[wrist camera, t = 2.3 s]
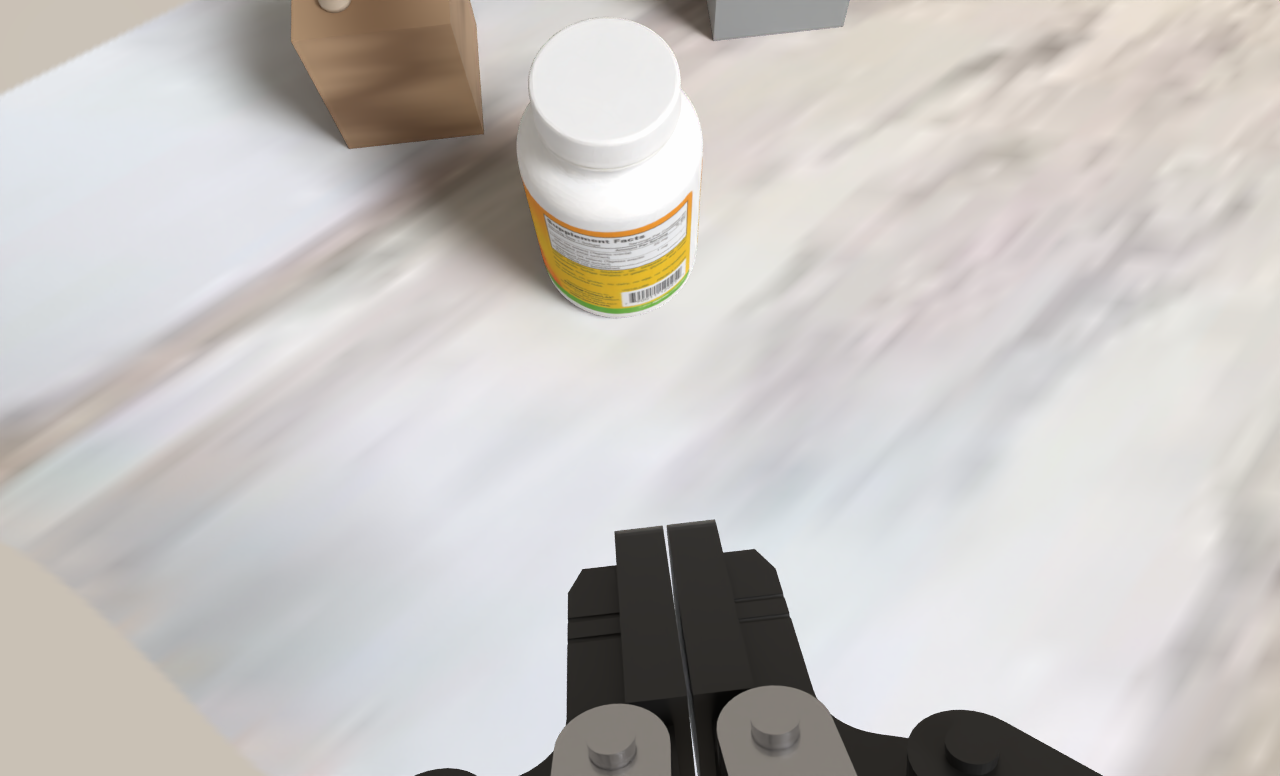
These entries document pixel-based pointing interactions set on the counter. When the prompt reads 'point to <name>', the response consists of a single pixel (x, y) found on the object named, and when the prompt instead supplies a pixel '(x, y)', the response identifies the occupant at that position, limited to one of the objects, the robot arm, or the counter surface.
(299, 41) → the walnut two pip block
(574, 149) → the supplement bottle
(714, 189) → the counter surface
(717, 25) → the slate three pip block
